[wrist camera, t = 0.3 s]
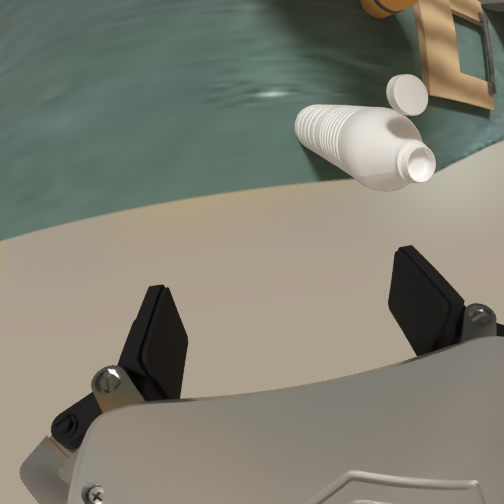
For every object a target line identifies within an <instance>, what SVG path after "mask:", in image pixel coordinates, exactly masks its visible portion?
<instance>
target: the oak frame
mask: <svg viewBox="0 0 504 504" xmlns="http://www.w3.org/2000/svg"><path fill="white" fill-rule="evenodd" d="M413 10H414V16H415V22H416V28H417V35H418V42H419V50H420V60H421V72H422V82H423V84H424V85H425V87H426V90H427V93H428V95H430V96H435V97H440V98H445V99H450V100H454V101H458V102H463V103H467V104H471V105H474V106H478V107H482V108H485V109H490V110H494V102H493V94H496V85H495V78H494V66H493V57H492V49H491V43H490V36H489V31H488V25H487V24H488V20H487V16H486V15H485V14H483V12H482V7H481V3H480V2H479V1H477V0H417V2H416V4H415V5H413ZM452 14H454V15H457V16H459V17H461V18H464V19H466V20H468V21H470V22H472V23H475V24H477V25H483V29H484V35H485V41H486V48H487V56H488V65H489V76H490V83H489V82H486V81H484V80H481V79H478V78H475V77H472V76H469V75H466V74H463V73H460V65H459V56H458V47H457V40H456V33H455V27H454V22H453V16H452Z"/></svg>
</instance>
